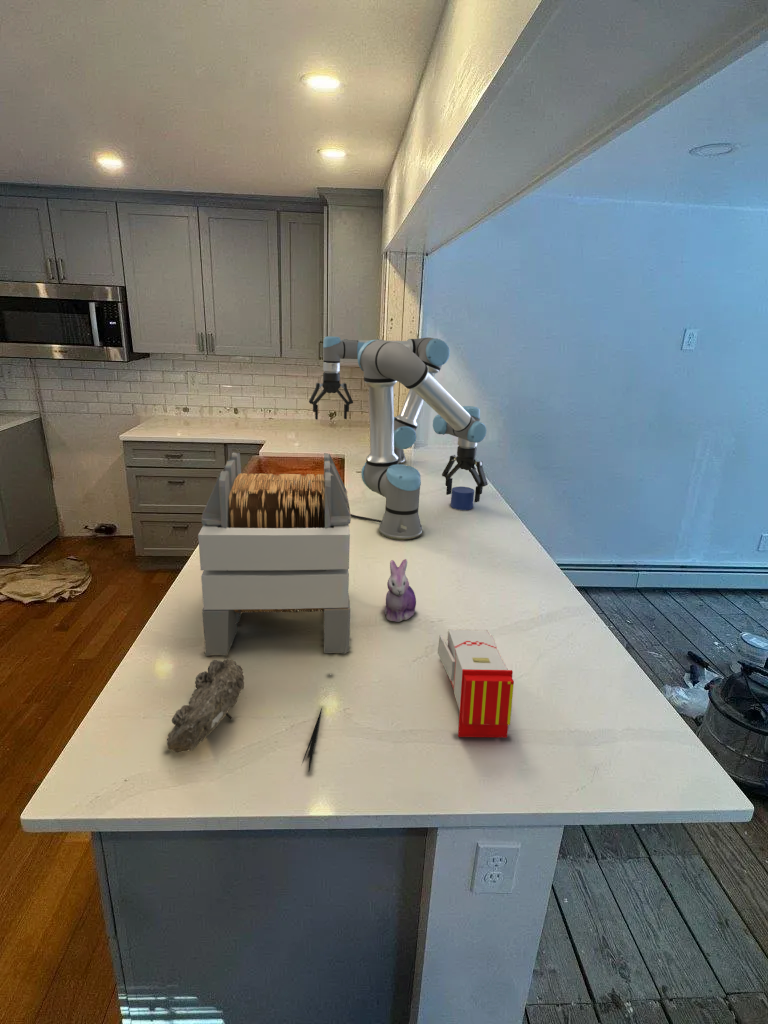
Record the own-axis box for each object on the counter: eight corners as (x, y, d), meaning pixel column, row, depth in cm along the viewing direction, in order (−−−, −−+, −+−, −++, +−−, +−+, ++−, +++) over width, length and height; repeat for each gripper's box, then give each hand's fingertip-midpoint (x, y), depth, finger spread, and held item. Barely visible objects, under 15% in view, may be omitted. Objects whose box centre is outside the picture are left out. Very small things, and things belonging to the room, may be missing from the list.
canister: (455, 510, 226) (456, 493, 223) (447, 503, 234) (448, 486, 231) (476, 509, 228) (477, 492, 225) (467, 502, 236) (469, 486, 234)
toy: (488, 613, 130) (523, 677, 101) (484, 667, 133) (517, 744, 104) (435, 612, 130) (455, 676, 101) (432, 666, 133) (451, 743, 103)
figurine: (392, 627, 141) (395, 572, 136) (374, 608, 149) (376, 556, 144) (425, 619, 145) (429, 566, 140) (405, 601, 154) (408, 550, 149)
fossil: (192, 660, 117) (244, 628, 112) (224, 691, 120) (276, 661, 115) (142, 746, 98) (202, 712, 93) (182, 779, 101) (242, 748, 96)
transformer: (226, 586, 157) (217, 442, 143) (344, 585, 161) (346, 445, 147) (202, 658, 125) (189, 482, 112) (350, 654, 129) (354, 483, 115)
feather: (331, 679, 122) (336, 673, 122) (307, 777, 96) (313, 769, 95) (324, 675, 122) (329, 669, 121) (298, 772, 95) (304, 764, 95)
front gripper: (500, 450, 218) (494, 502, 225) (446, 439, 232) (442, 489, 240) (490, 453, 212) (484, 507, 220) (435, 442, 227) (432, 492, 234)
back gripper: (305, 372, 250) (305, 420, 257) (360, 373, 256) (358, 420, 264) (302, 370, 256) (302, 417, 263) (356, 371, 263) (355, 417, 270)
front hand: (462, 497), depth 230 cm, fingers open, 13 cm apart
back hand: (330, 418), depth 264 cm, fingers open, 13 cm apart
